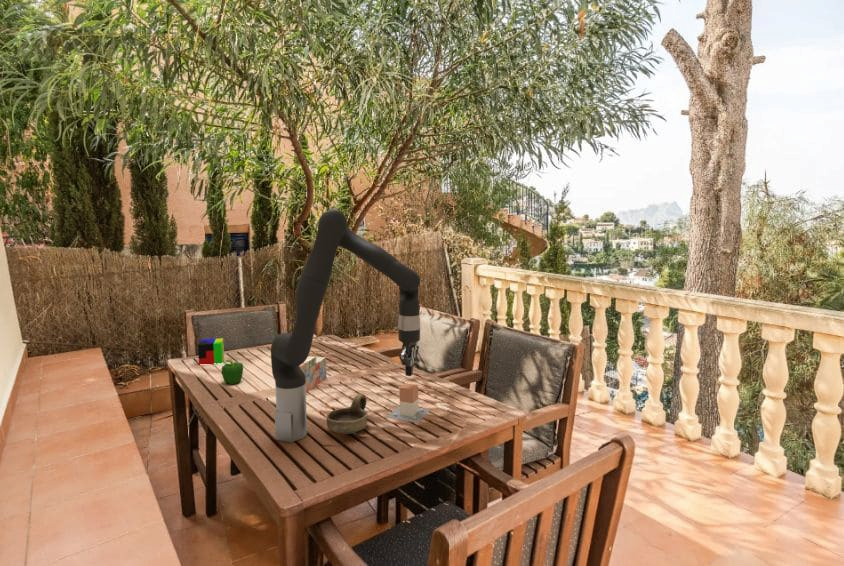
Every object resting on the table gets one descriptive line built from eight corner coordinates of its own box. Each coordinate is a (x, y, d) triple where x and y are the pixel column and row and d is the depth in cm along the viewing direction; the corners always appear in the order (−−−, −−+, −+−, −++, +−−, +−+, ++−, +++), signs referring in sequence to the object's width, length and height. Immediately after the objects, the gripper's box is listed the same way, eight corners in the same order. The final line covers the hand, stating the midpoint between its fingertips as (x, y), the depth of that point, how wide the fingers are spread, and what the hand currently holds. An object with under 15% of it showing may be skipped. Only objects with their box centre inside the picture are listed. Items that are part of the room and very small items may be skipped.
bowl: (316, 435, 151) (316, 406, 149) (348, 415, 166) (348, 388, 165) (351, 445, 144) (351, 414, 143) (381, 423, 160) (381, 395, 158)
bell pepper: (248, 380, 200) (247, 358, 198) (233, 387, 192) (232, 363, 191) (233, 378, 203) (232, 355, 202) (218, 384, 196) (217, 361, 195)
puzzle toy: (202, 359, 230) (201, 339, 228) (224, 357, 233) (223, 338, 231) (199, 365, 220) (197, 344, 219) (222, 363, 223) (220, 343, 222)
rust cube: (412, 403, 162) (412, 389, 161) (399, 401, 164) (399, 387, 163) (418, 398, 166) (418, 384, 166) (405, 396, 168) (405, 382, 168)
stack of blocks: (313, 376, 207) (313, 349, 205) (326, 377, 205) (326, 350, 203) (288, 393, 186) (287, 363, 184) (302, 395, 185) (301, 365, 183)
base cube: (412, 417, 163) (412, 403, 162) (399, 414, 164) (399, 401, 164) (418, 411, 167) (418, 398, 166) (405, 409, 169) (405, 396, 168)
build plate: (418, 425, 158) (418, 421, 158) (386, 419, 162) (386, 415, 162) (430, 412, 169) (430, 407, 169) (400, 407, 174) (400, 402, 173)
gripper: (406, 322, 169) (406, 368, 171) (391, 330, 157) (391, 380, 159) (426, 324, 166) (425, 371, 169) (412, 332, 154) (411, 382, 156)
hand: (409, 375), depth 164 cm, fingers closed
